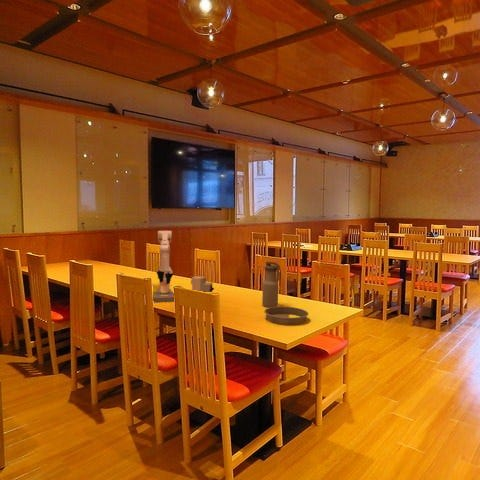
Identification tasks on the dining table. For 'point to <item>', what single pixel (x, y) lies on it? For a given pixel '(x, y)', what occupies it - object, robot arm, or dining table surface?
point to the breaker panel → (163, 296)
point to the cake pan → (285, 315)
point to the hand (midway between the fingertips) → (164, 282)
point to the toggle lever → (164, 288)
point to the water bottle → (271, 285)
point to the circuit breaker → (201, 284)
